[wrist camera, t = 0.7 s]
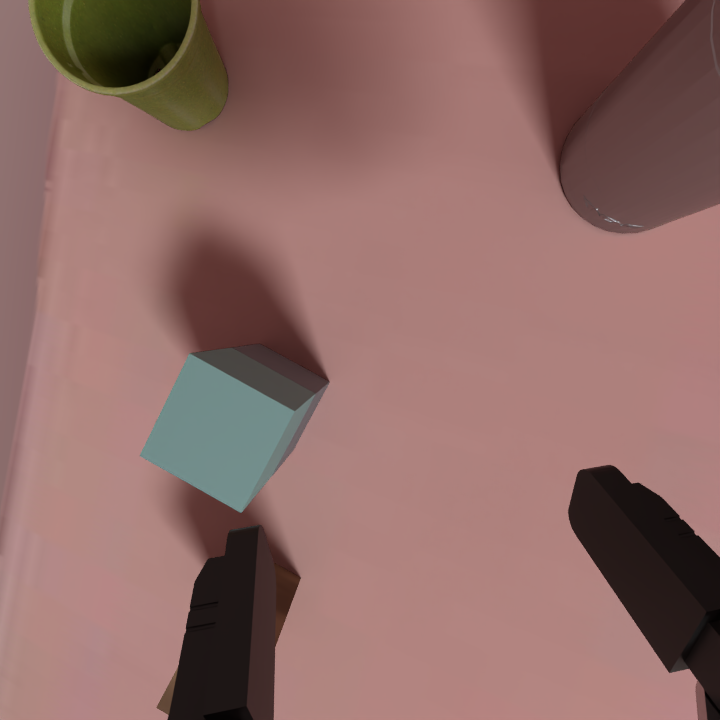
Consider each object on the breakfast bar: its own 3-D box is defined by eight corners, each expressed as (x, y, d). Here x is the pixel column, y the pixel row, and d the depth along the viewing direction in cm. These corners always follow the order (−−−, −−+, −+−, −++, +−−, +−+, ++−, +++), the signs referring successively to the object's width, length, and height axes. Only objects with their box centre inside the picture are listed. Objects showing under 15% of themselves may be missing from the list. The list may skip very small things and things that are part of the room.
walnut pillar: (250, 549, 34) (190, 644, 24) (300, 577, 34) (261, 684, 24) (225, 596, 34) (156, 707, 24) (275, 624, 34) (225, 747, 24)
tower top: (231, 347, 27) (189, 353, 21) (315, 393, 27) (294, 411, 21) (190, 429, 27) (139, 455, 22) (272, 475, 27) (241, 513, 22)
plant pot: (266, 35, 30) (214, -80, 22) (236, 168, 31) (175, 110, 23) (142, 6, 31) (44, -116, 22) (116, 139, 32) (13, 71, 23)
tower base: (259, 343, 32) (232, 347, 27) (329, 381, 32) (316, 393, 27) (225, 412, 33) (191, 429, 27) (293, 450, 33) (272, 475, 27)
